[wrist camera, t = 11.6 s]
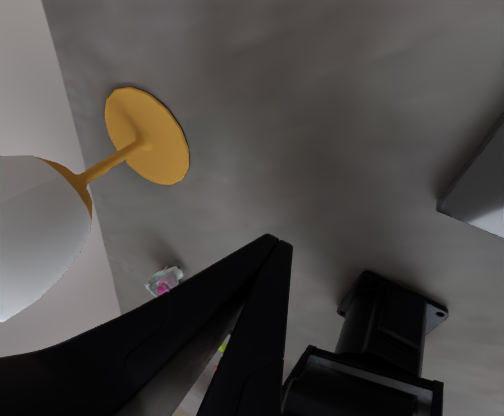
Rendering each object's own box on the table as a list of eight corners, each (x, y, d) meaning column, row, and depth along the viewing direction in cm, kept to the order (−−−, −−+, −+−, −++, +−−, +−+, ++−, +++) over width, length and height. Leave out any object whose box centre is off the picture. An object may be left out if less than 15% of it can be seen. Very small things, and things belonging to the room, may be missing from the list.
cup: (96, 128, 30) (-115, 236, 19) (124, 60, 23) (-171, 164, 13) (164, 198, 31) (5, 334, 21) (208, 152, 25) (10, 316, 14)
